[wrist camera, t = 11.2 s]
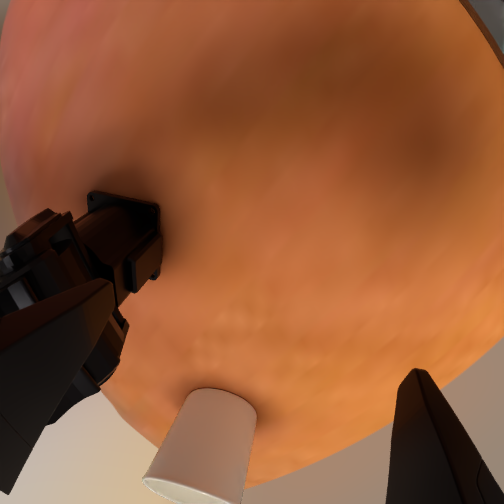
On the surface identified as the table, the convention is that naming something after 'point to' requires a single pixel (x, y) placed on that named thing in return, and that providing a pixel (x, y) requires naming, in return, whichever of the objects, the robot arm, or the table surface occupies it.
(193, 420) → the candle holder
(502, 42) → the sleeve and socket
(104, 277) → the robot arm
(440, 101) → the table surface
